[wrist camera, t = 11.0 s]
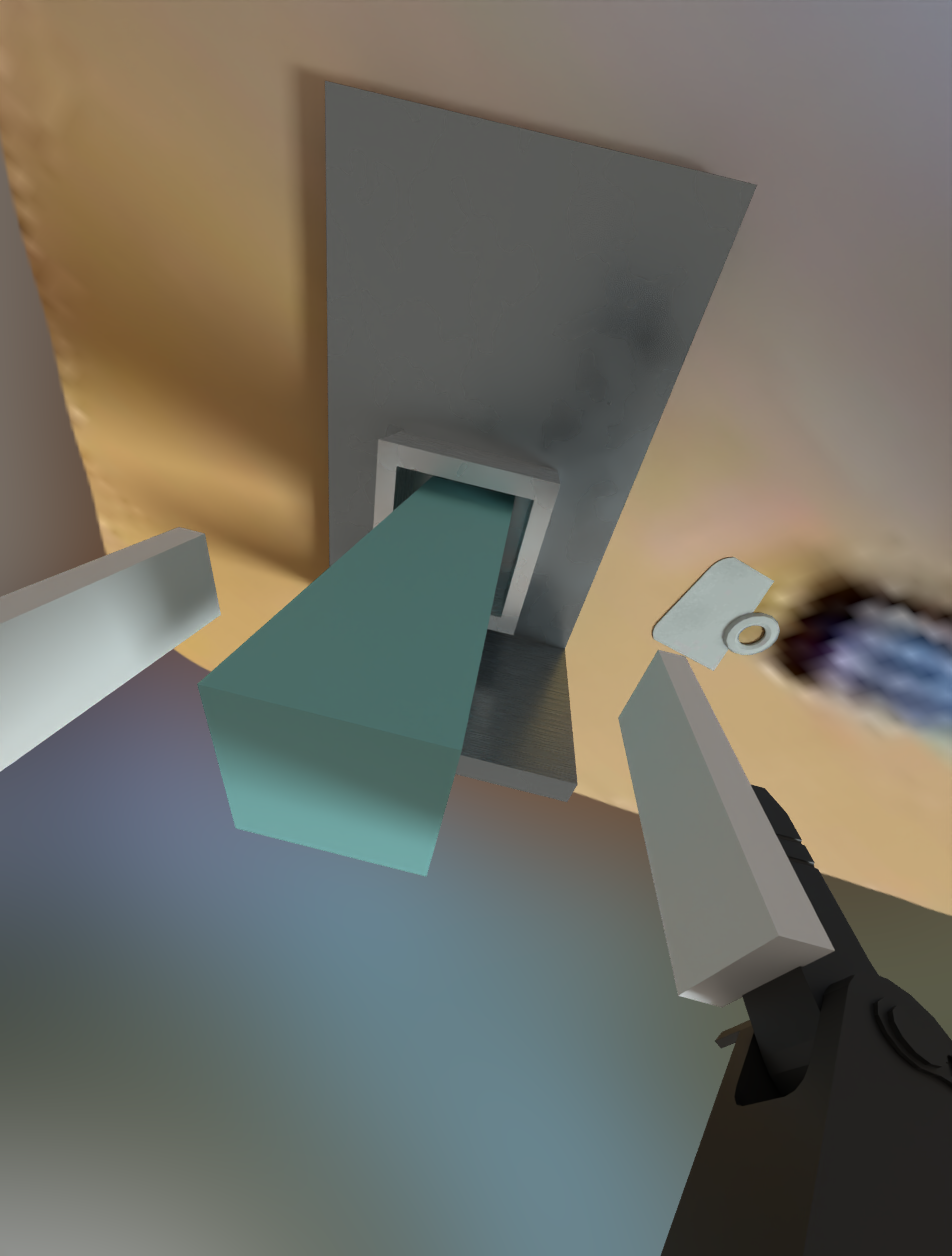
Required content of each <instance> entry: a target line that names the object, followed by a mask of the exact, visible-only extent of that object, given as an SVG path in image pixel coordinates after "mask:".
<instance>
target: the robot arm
mask: <svg viewBox="0 0 952 1256" xmlns="http://www.w3.org/2000/svg"><path fill="white" fill-rule="evenodd" d="M219 615H221V614H220V609H219V604H218V598H217V593H216V588H215V583H214V578H213V573H212V568H211V563H210V558H209V553H208V547H207V542H206V537H205V534H204V533H200V532H197V531H193V530H189V529H185V528H181V527H178V528H175V529H172V530H170V531H167V532H165V533H162V534H160V535H157V536H155V537H152V538H150V539H147V540H144V541H142V542H139V543H137V544H134V545H132V546H129V547H127V548H124V549H121V550H119V551H116V552H114V553H111V554H109V555H106V556H104V557H101V558H99V559H96V560H93V561H91V562H88V563H86V564H83V565H81V566H78V567H76V568H73V569H70V570H68V571H65V572H63V573H60V574H58V575H55V576H53V577H50V578H48V579H45V580H43V581H40V582H37V583H35V584H32V585H30V586H27V587H25V588H22V589H20V590H17V591H14V592H12V593H9V594H7V595H4V596H2V597H0V771H2V770H3V769H5V768H6V767H7V766H9V765H10V764H11V763H13V762H14V761H16V760H17V759H19V758H20V757H21V756H23V755H24V754H25V753H27V752H28V751H30V750H31V749H33V748H34V747H35V746H37V745H38V744H40V743H41V742H42V741H44V740H45V739H47V738H48V737H49V736H51V735H52V734H54V733H55V732H57V731H58V730H59V729H61V728H62V727H63V726H65V725H66V724H68V723H69V722H70V721H72V720H73V719H75V718H76V717H77V716H79V715H80V714H82V713H83V712H85V711H86V710H87V709H89V708H90V707H92V706H93V705H94V704H96V703H97V702H99V701H100V700H101V699H103V698H104V697H106V696H107V695H108V694H110V693H111V692H112V691H114V690H115V689H117V688H118V687H120V686H121V685H122V684H124V683H125V682H127V681H128V680H129V679H131V678H132V677H134V676H135V675H136V674H138V673H139V672H141V671H142V670H144V669H145V668H146V667H148V666H149V665H151V664H152V663H153V662H155V661H156V660H158V659H159V658H160V657H162V656H163V655H165V654H166V653H167V652H169V651H170V650H172V649H173V648H175V647H176V646H177V645H179V644H180V643H182V642H183V641H184V640H186V639H187V638H189V637H190V636H191V635H193V634H194V633H196V632H197V631H198V630H200V629H201V628H203V627H204V626H205V625H207V624H208V623H210V622H211V621H212V620H214V619H215V618H217V617H218V616H219ZM618 719H619V723H620V728H621V733H622V737H623V742H624V746H625V751H626V756H627V760H628V765H629V770H630V774H631V779H632V783H633V788H634V793H635V797H636V802H637V807H638V811H639V816H640V820H641V825H642V830H643V834H644V839H645V843H646V848H647V853H648V857H649V862H650V867H651V871H652V876H653V881H654V885H655V890H656V894H657V899H658V903H659V908H660V913H661V918H662V922H663V927H664V931H665V936H666V941H667V945H668V950H669V955H670V959H671V963H672V968H673V973H674V978H675V982H676V987H677V992H678V996H682V997H685V998H689V999H693V1000H696V1001H700V1002H704V1003H707V1004H711V1005H715V1006H718V1007H724V1006H726V1005H728V1004H730V1003H731V1002H733V1001H736V1000H738V999H740V998H741V997H743V999H744V1002H745V1006H746V1009H747V1012H748V1015H749V1018H750V1020H749V1021H746V1022H744V1023H741V1024H739V1025H737V1026H735V1027H733V1028H730V1029H728V1030H725V1031H723V1032H722V1033H721V1034H720V1035H719V1036H718V1038H717V1039H716V1040H715V1042H716V1043H717V1044H718V1045H719V1046H720V1048H723V1047H726V1046H728V1045H731V1044H733V1043H735V1046H734V1049H733V1052H732V1054H731V1057H730V1061H729V1063H728V1066H727V1069H726V1072H725V1074H724V1077H723V1080H722V1083H721V1086H720V1088H719V1091H718V1094H717V1097H716V1100H715V1103H714V1106H713V1109H712V1111H711V1114H710V1117H709V1120H708V1123H707V1126H706V1128H705V1131H704V1134H703V1137H702V1140H701V1142H700V1146H699V1148H698V1151H697V1154H696V1157H695V1160H694V1162H693V1165H692V1168H691V1171H690V1174H689V1177H688V1179H687V1182H686V1185H685V1188H684V1191H683V1194H682V1196H681V1199H680V1202H679V1205H678V1208H677V1211H676V1213H675V1216H674V1219H673V1222H672V1225H671V1228H670V1230H669V1233H668V1237H667V1239H666V1242H665V1245H664V1248H663V1251H662V1253H661V1256H952V1040H951V1039H950V1038H949V1037H948V1035H947V1034H946V1033H945V1032H944V1030H943V1029H942V1028H941V1026H940V1025H939V1024H938V1022H937V1021H936V1020H935V1018H934V1017H933V1016H931V1014H930V1013H928V1011H926V1010H925V1009H924V1008H923V1007H922V1006H921V1005H920V1004H919V1003H918V1002H917V1001H916V1000H915V999H914V998H913V997H912V996H911V995H910V994H908V993H907V992H906V991H904V990H902V989H901V988H900V987H898V986H897V985H895V984H894V983H893V982H891V981H890V980H888V979H886V978H883V977H881V976H879V975H878V974H877V972H876V971H875V969H874V967H873V966H872V964H871V963H870V961H869V959H868V958H867V956H866V954H865V952H864V950H863V949H862V947H861V945H860V943H859V942H858V940H857V938H856V936H855V934H854V932H853V931H852V929H851V927H850V925H849V924H848V922H847V920H846V918H845V917H844V915H843V913H842V911H841V909H840V907H839V906H838V904H837V902H836V900H835V899H834V897H833V895H832V893H831V891H830V890H829V888H828V886H827V884H826V883H825V881H824V879H823V877H822V875H821V874H820V872H819V870H818V869H816V868H814V861H813V859H812V857H811V856H810V854H809V852H808V850H807V849H806V847H805V845H802V844H801V841H802V840H801V838H800V836H799V834H798V832H797V831H796V829H795V827H794V825H793V823H792V822H791V820H790V818H789V816H788V815H787V813H786V812H785V811H784V810H783V808H782V807H781V806H780V805H779V804H778V803H777V802H776V801H775V799H774V798H773V797H772V796H771V795H770V794H769V793H768V791H767V790H766V789H765V788H762V787H758V786H754V785H750V783H749V781H748V779H747V777H746V775H745V773H744V771H743V769H742V767H741V765H740V763H739V761H738V759H737V757H736V755H735V753H734V751H733V749H732V747H731V745H730V743H729V741H728V739H727V738H726V736H725V734H724V732H723V730H722V728H721V726H720V724H719V722H718V720H717V718H716V716H715V714H714V712H713V710H712V708H711V706H710V704H709V702H708V700H707V698H706V696H705V694H704V692H703V690H702V688H701V686H700V685H699V683H698V681H697V679H696V677H695V675H694V673H693V671H692V669H691V667H690V665H689V663H688V661H687V659H686V657H685V656H681V655H677V654H673V653H669V652H665V651H661V650H658V651H657V653H656V654H655V656H654V658H653V660H652V661H651V663H650V665H649V666H648V668H647V670H646V672H645V673H644V675H643V677H642V678H641V680H640V682H639V684H638V685H637V687H636V689H635V690H634V692H633V694H632V695H631V697H630V699H629V701H628V702H627V704H626V706H625V707H624V709H623V711H622V713H621V714H620V716H619V718H618Z"/></svg>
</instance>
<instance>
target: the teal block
mask: <svg viewBox="0 0 952 1256" xmlns="http://www.w3.org/2000/svg"><path fill="white" fill-rule="evenodd" d="M514 500H515V496H511V495H507V494H503V493H499V492H495V491H491V490H487V489H483V488H479V487H474V486H470V485H466V484H462V483H458V482H454V481H450V480H446V479H442V478H438V477H434V476H432V477H431V478H430V479H429V480H428V481H427V482H426V483H424V484H423V485H422V486H421V487H420V488H419V489H418V490H417V491H415V492H414V493H413V494H412V495H411V496H410V497H409V498H408V499H406V500H405V501H404V502H403V503H402V504H401V505H400V506H398V507H397V508H396V509H395V510H394V511H393V512H392V513H391V514H389V515H388V516H387V517H386V518H385V519H384V520H383V521H381V522H380V523H379V524H378V525H377V526H376V527H375V528H374V529H372V530H371V531H370V532H369V533H368V534H367V535H366V536H364V537H363V538H362V539H361V540H360V541H359V542H358V543H357V544H355V545H354V546H353V547H352V548H351V549H350V550H349V551H347V552H346V553H345V554H344V555H343V556H342V557H341V558H340V559H338V560H337V561H336V562H335V563H334V564H333V565H332V566H330V567H329V568H328V569H327V570H326V571H325V572H324V573H323V574H321V575H320V576H319V577H318V578H317V579H316V580H315V581H313V582H312V583H311V584H310V585H309V586H308V587H307V588H306V589H304V590H303V591H302V592H301V593H300V594H299V595H298V596H296V597H295V598H294V599H293V600H292V601H291V602H290V603H289V604H287V605H286V606H285V607H284V608H283V609H282V610H281V611H280V612H278V613H277V614H276V615H275V616H274V617H273V618H272V619H270V620H269V621H268V622H267V623H266V624H265V625H264V626H263V627H261V628H260V629H259V630H258V631H257V632H256V633H255V634H253V635H252V636H251V637H250V638H249V639H248V640H247V641H246V642H244V643H243V644H242V645H241V646H240V647H239V648H238V649H236V650H235V651H234V652H233V653H232V654H231V655H230V656H229V657H227V658H226V659H225V660H224V661H223V662H222V663H221V664H219V665H218V666H217V667H216V668H215V669H214V670H213V671H212V672H210V673H209V674H208V675H207V676H206V677H205V678H204V679H203V680H201V681H200V682H199V683H198V684H197V685H198V689H199V692H200V696H201V700H202V704H203V707H204V711H205V715H206V719H207V723H208V726H209V730H210V734H211V737H212V741H213V745H214V748H215V753H216V756H217V760H218V764H219V768H220V771H221V775H222V779H223V782H224V786H225V790H226V793H227V797H228V801H229V805H230V809H231V812H232V816H233V820H234V824H235V827H236V828H237V829H241V830H245V831H249V832H253V833H257V834H260V835H265V836H268V837H272V838H276V839H281V840H284V841H289V842H292V843H296V844H301V845H304V846H308V847H312V848H316V849H320V850H324V851H328V852H332V853H336V854H340V855H343V856H348V857H351V858H355V859H360V860H363V861H367V862H371V863H375V864H379V865H383V866H387V867H391V868H395V869H399V870H403V871H407V872H411V873H415V874H419V875H423V876H427V873H428V869H429V865H430V862H431V858H432V855H433V851H434V848H435V844H436V840H437V837H438V833H439V830H440V826H441V823H442V819H443V815H444V812H445V808H446V805H447V801H448V798H449V794H450V790H451V786H452V783H453V780H454V776H455V772H456V769H457V765H458V762H459V758H460V755H461V751H462V746H463V742H464V737H465V732H466V728H467V723H468V718H469V713H470V709H471V704H472V699H473V694H474V690H475V685H476V680H477V675H478V671H479V666H480V661H481V657H482V652H483V647H484V642H485V638H486V633H487V628H488V623H489V619H490V614H491V609H492V605H493V600H494V595H495V590H496V586H497V581H498V576H499V571H500V567H501V562H502V557H503V552H504V548H505V543H506V538H507V534H508V529H509V524H510V519H511V515H512V510H513V505H514Z"/></svg>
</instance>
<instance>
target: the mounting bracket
mask: <svg viewBox="0 0 952 1256" xmlns="http://www.w3.org/2000/svg"><path fill="white" fill-rule="evenodd" d="M773 582H774V581H773V580H771V579H769V578H768V577H766V576H764V575H763V574H761V573H759V572H758V571H756V570H754V569H753V568H751V567H749V566H748V565H746V564H744V563H743V562H741V561H739V560H738V559H736V558H734V557H730V558H725V559H722V560H720V561H718V562H716V563H715V564H714V565H712V566H711V567H710V568H709V569H708V570H707V571H706V572H705V573H704V574H703V575H702V577H701V578H700V579H699V580H698V581H697V582H696V583H695V584H694V585H693V586H692V587H691V588H690V589H689V590H688V591H687V592H686V593H685V594H684V595H683V596H682V597H681V598H680V600H679V601H678V602H677V603H676V604H675V605H674V606H673V607H672V608H671V609H670V610H669V611H668V612H667V613H666V614H665V615H664V616H663V617H662V618H661V619H660V620H659V622H658V623H657V624H656V625H655V627H654V629H653V637H654V639H655V640H657V641H658V642H660V643H662V644H664V645H666V646H668V647H670V648H672V649H674V650H675V651H677V652H679V653H681V654H683V655H685V656H687V657H689V658H691V659H692V660H694V661H696V662H698V663H700V664H702V665H704V666H706V667H707V668H709V669H711V670H713V671H714V670H715V668H716V667H717V665H718V664H719V662H720V661H721V659H722V658H723V656H724V655H725V653H726V652H727V650H728V649H729V650H730V651H732V652H734V653H738V654H741V655H752V654H756V653H759V652H762V651H764V650H765V649H767V648H769V647H770V646H771V645H772V644H773V643H774V642H775V641H776V640H777V638H778V635H779V632H780V631H779V626H778V622H777V621H776V620H775V619H774V618H773V617H772V616H770V615H767V614H764V613H753V612H754V610H755V609H756V607H757V606H758V604H759V603H760V601H761V600H762V598H763V597H764V595H765V594H766V592H767V591H768V589H769V588H770V586H771V585H772V583H773ZM753 625H759V626H762V627H763V628H764V629H765V634H764V636H763V637H762V638H761V640H759V641H757V642H756V643H753V644H743V643H740V642H739V639H738V637H739V634H740V633H741V632H742V630H744V629H745V628H747V627H750V626H753Z"/></svg>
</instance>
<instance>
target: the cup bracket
mask: <svg viewBox="0 0 952 1256" xmlns="http://www.w3.org/2000/svg"><path fill="white" fill-rule="evenodd" d="M325 130H326V238H327V346H328V454H329V563H330V566H332V565H333V564H334V563H335V562H336V561H337V560H338V559H340V558H341V557H342V556H343V555H344V554H345V553H346V552H347V551H349V550H350V549H351V548H352V547H353V546H354V545H355V544H357V543H358V542H359V541H360V540H361V539H362V538H363V537H364V536H366V535H367V534H368V533H369V532H370V531H371V530H372V529H374V528H375V527H376V526H377V525H378V524H379V523H380V522H381V521H383V520H384V519H385V518H386V517H387V516H388V515H389V514H391V513H392V512H393V511H394V510H395V509H396V508H397V507H398V506H400V505H401V504H402V503H403V502H404V501H405V500H406V499H408V498H409V497H410V496H411V495H412V494H413V493H414V492H415V491H417V490H418V489H419V488H420V487H421V486H422V485H423V484H424V483H426V482H427V481H428V480H429V479H430V478H431V477H432V476H434V477H438V478H442V479H446V480H450V481H454V482H458V483H462V484H466V485H470V486H474V487H479V488H483V489H487V490H491V491H495V492H499V493H503V494H507V495H511V496H515V500H514V505H513V510H512V515H511V519H510V524H509V529H508V534H507V538H506V543H505V548H504V552H503V557H502V562H501V567H500V571H499V576H498V581H497V586H496V590H495V595H494V600H493V605H492V609H491V614H490V619H489V623H488V628H487V633H486V638H485V642H484V647H483V652H482V657H481V661H480V666H479V671H478V675H477V680H476V685H475V690H474V694H473V699H472V704H471V709H470V713H469V718H468V723H467V728H466V732H465V737H464V742H463V746H462V751H461V755H460V758H459V762H458V765H457V769H456V772H455V774H457V775H461V776H465V777H470V778H473V779H477V780H481V781H485V782H490V783H493V784H497V785H501V786H505V787H509V788H513V789H517V790H521V791H525V792H529V793H533V794H537V795H541V796H545V797H549V798H553V799H557V800H561V801H565V802H567V801H568V800H569V798H570V796H571V795H572V793H573V791H574V789H575V788H576V786H577V775H576V764H575V753H574V743H573V732H572V722H571V711H570V700H569V690H568V679H567V668H566V658H565V647H566V644H567V642H568V640H569V637H570V635H571V632H572V630H573V628H574V625H575V623H576V620H577V618H578V616H579V613H580V611H581V608H582V606H583V603H584V601H585V599H586V596H587V594H588V591H589V589H590V587H591V584H592V582H593V579H594V577H595V575H596V572H597V570H598V567H599V565H600V562H601V560H602V558H603V555H604V553H605V550H606V548H607V546H608V543H609V541H610V538H611V536H612V534H613V531H614V529H615V526H616V524H617V521H618V519H619V517H620V514H621V512H622V509H623V507H624V505H625V502H626V500H627V497H628V495H629V493H630V490H631V488H632V485H633V483H634V480H635V478H636V476H637V473H638V471H639V468H640V466H641V464H642V461H643V459H644V456H645V454H646V452H647V449H648V447H649V444H650V442H651V439H652V437H653V435H654V432H655V430H656V427H657V425H658V423H659V420H660V418H661V415H662V413H663V411H664V408H665V406H666V403H667V401H668V398H669V396H670V394H671V391H672V389H673V386H674V384H675V382H676V379H677V377H678V374H679V372H680V370H681V367H682V365H683V362H684V360H685V357H686V355H687V353H688V350H689V348H690V345H691V343H692V341H693V338H694V336H695V333H696V331H697V329H698V326H699V324H700V321H701V319H702V316H703V314H704V312H705V309H706V307H707V304H708V302H709V300H710V297H711V295H712V292H713V290H714V288H715V285H716V283H717V280H718V278H719V275H720V273H721V271H722V268H723V266H724V263H725V261H726V259H727V256H728V254H729V251H730V249H731V247H732V244H733V242H734V239H735V237H736V234H737V232H738V230H739V227H740V225H741V222H742V220H743V218H744V215H745V213H746V210H747V208H748V206H749V203H750V201H751V198H752V196H753V193H754V191H755V189H756V186H757V185H755V184H751V183H747V182H743V181H738V180H734V179H730V178H726V177H722V176H718V175H714V174H709V173H705V172H701V171H697V170H693V169H689V168H685V167H680V166H676V165H672V164H668V163H664V162H660V161H656V160H651V159H647V158H643V157H639V156H635V155H631V154H627V153H622V152H618V151H614V150H610V149H606V148H602V147H598V146H593V145H589V144H585V143H581V142H577V141H573V140H569V139H564V138H560V137H556V136H552V135H548V134H544V133H540V132H535V131H531V130H527V129H523V128H519V127H515V126H511V125H506V124H502V123H498V122H494V121H490V120H486V119H482V118H477V117H473V116H469V115H465V114H461V113H457V112H453V111H448V110H444V109H440V108H436V107H432V106H428V105H423V104H419V103H415V102H411V101H407V100H403V99H399V98H394V97H390V96H386V95H382V94H378V93H374V92H370V91H365V90H361V89H357V88H353V87H349V86H345V85H341V84H336V83H332V82H328V81H325Z"/></svg>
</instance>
